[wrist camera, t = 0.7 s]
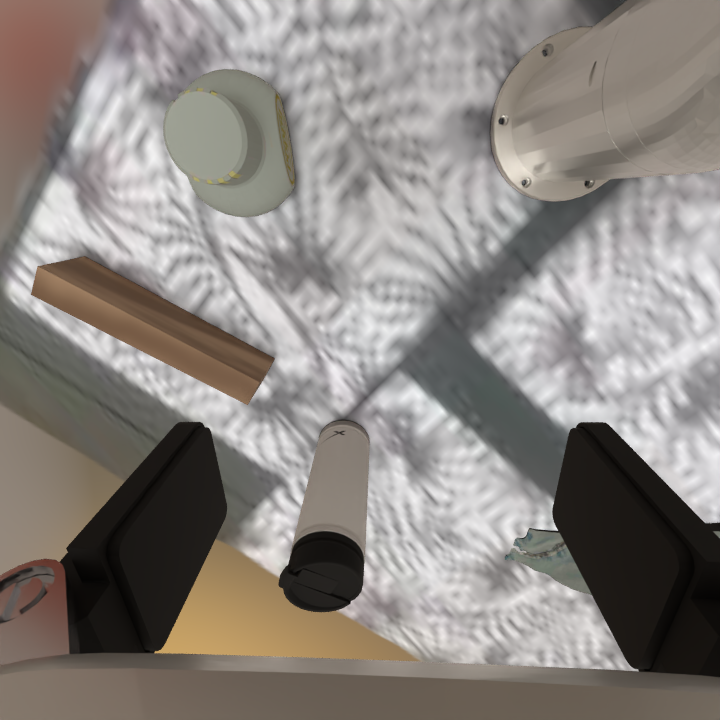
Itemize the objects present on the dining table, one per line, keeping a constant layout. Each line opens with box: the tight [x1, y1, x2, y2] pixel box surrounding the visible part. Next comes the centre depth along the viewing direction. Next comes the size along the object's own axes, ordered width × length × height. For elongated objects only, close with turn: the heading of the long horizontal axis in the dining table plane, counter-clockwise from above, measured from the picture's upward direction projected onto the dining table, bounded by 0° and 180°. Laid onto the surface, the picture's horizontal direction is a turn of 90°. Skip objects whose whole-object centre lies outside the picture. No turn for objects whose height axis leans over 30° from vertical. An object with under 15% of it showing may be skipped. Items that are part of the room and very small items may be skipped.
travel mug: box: [279, 421, 370, 612], centre depth 38 cm, size 6×7×20 cm
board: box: [31, 256, 274, 405], centre depth 40 cm, size 3×22×6 cm, turn 60°
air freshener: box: [163, 69, 295, 217], centre depth 31 cm, size 11×8×10 cm
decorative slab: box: [505, 523, 720, 595], centre depth 53 cm, size 26×24×2 cm
